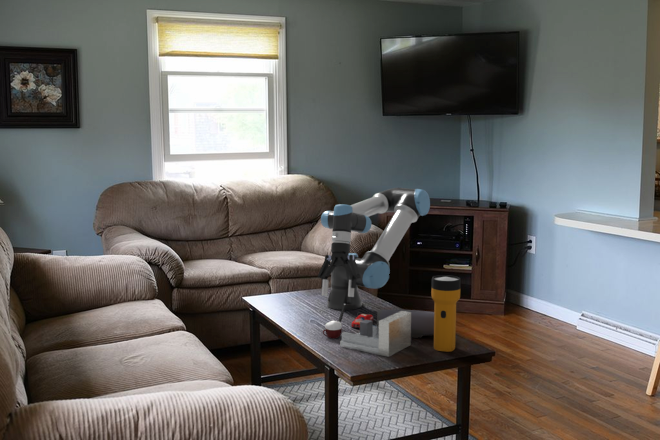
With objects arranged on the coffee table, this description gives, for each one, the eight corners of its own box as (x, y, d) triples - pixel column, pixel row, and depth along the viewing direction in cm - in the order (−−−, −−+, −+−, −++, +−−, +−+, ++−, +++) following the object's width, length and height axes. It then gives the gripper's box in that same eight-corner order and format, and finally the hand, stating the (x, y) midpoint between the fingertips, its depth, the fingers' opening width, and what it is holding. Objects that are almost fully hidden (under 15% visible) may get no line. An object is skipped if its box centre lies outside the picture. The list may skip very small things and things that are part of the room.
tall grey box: (365, 335, 250) (365, 319, 250) (372, 336, 249) (372, 320, 248) (359, 338, 247) (359, 322, 246) (366, 339, 246) (366, 323, 245)
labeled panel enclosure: (363, 335, 258) (363, 304, 257) (410, 344, 247) (411, 312, 245) (340, 346, 245) (340, 314, 244) (388, 356, 234) (388, 322, 232)
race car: (361, 330, 265) (361, 320, 265) (349, 328, 268) (349, 318, 267) (375, 322, 277) (375, 312, 276) (363, 320, 279) (363, 310, 279)
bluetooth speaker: (439, 334, 260) (439, 308, 258) (437, 341, 251) (438, 315, 249) (379, 330, 264) (379, 305, 263) (376, 337, 255) (376, 311, 254)
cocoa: (323, 341, 253) (321, 309, 251) (322, 335, 259) (320, 304, 257) (348, 339, 254) (347, 308, 252) (346, 333, 260) (345, 303, 258)
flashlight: (462, 275, 242) (457, 281, 233) (461, 345, 245) (456, 354, 236) (435, 273, 245) (428, 278, 236) (433, 342, 249) (427, 351, 240)
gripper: (311, 242, 278) (307, 294, 275) (359, 241, 262) (356, 296, 259) (323, 244, 284) (320, 296, 281) (371, 243, 268) (368, 297, 265)
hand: (337, 296), depth 270 cm, fingers open, 13 cm apart
